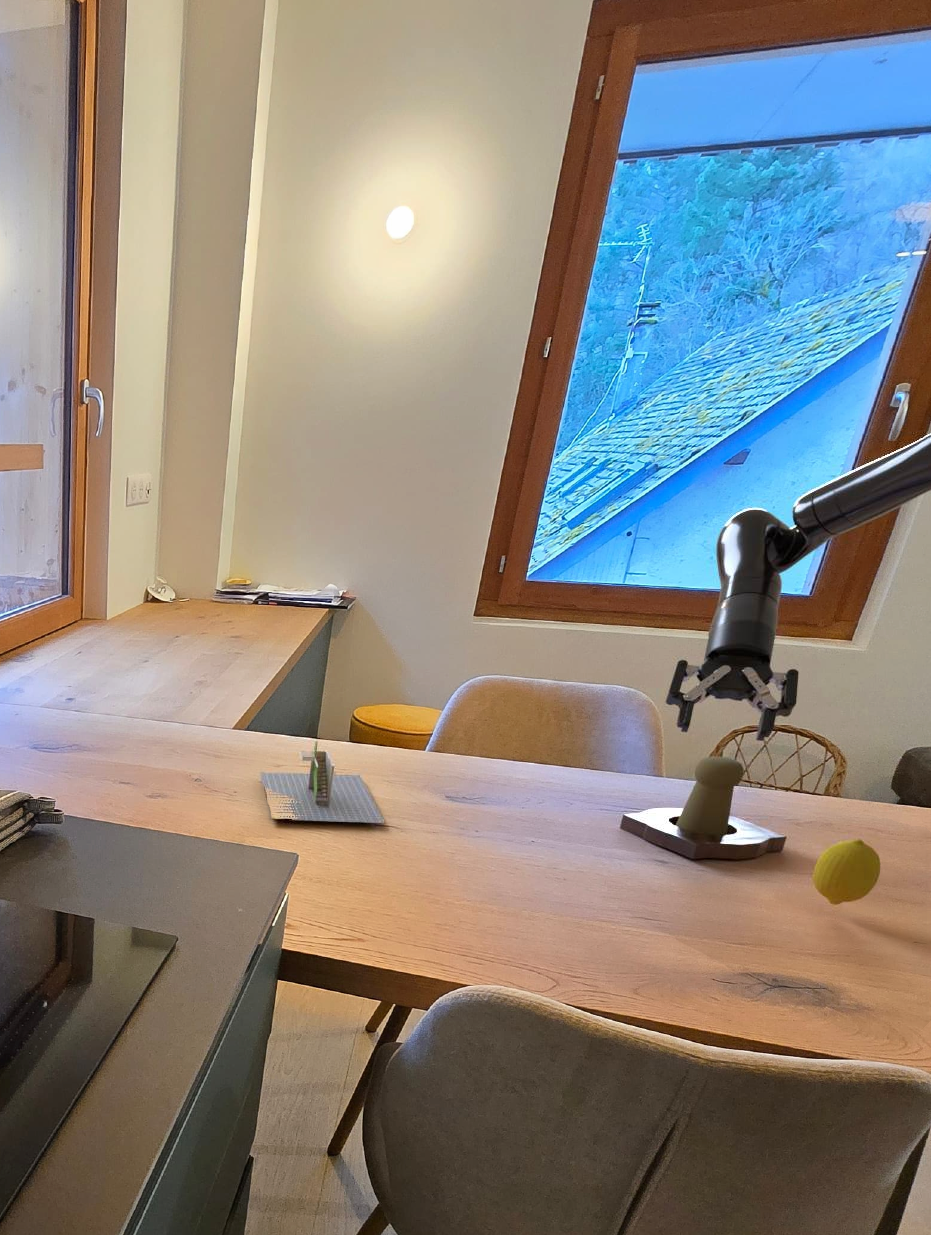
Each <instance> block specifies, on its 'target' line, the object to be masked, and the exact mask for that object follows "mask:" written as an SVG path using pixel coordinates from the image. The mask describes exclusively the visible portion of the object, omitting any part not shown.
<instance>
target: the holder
mask: <svg viewBox="0 0 931 1235" xmlns="http://www.w3.org/2000/svg"><path fill="white" fill-rule="evenodd" d="M683 809H684V808H680V807H679V808H678V807H677V808H676V807H660V808H649V809H646V810H644V811H642V812H637V813H628V814H627V813H625V814H622V818H621V821H620V825H619V829H622V830H624V831H626V832H629V833H630V834H633V835H636V836H638V837H640V838H642V839H644V840H645V841H647V842H650V843H652V844H654V845H658V846H659V847H661V848H665V849H668V850H671V851H673V852H675V853H678V854H680V855H682V856H685V857H687V858H689V859H692V860H698V859H709V858H711V859H712V858H713V859H725V860H727V859H728V860H744V859H753V858H754V859H755V858H757V857H759V856H761V855H763V854H765V853H775V852H782V851H783V850H784V847H785V844H786V841H787V838H788V837H787V836H786V835H783V834H780V833H779V832H778V833H777V832H775V831H772V830H769V829H766V828H764V827H762V826H759V825H757V824H754V823H752V822H749V821H746V820H743V819H741V818H738V817H734V816H731V815H730V816H729V822H728V829H727V835H710V834H703V833H697V832H693V831H689V830H685V829H682V828H679V827H677V826H676V823H677V821H678V819H679V817H680V815H681V813H682V811H683Z"/></svg>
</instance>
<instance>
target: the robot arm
mask: <svg viewBox="0 0 931 1235" xmlns="http://www.w3.org/2000/svg"><path fill="white" fill-rule="evenodd" d="M930 491H931V433H930V434H927V435H925V436H924V437H923V438H920V439H919V440H917V441H915V442H913V443H911V444H908V445H907V446H904V447H903V448H900V449H898V450H896V451H894V452H891V453H890V454H887V455H885V456H881V458H880V457H879V458H878V459H875V460H874V461H871V462H869V463H866V464H864V465H862V466H860V467H857V468H856V469H854V470H851V471H849V472H847V473H845V474H843V475H840V476H839V477H837V478H835V479H832V480H831V481H829V482H826V483H825V484H822V485H820V486H819V487H816V488H814V489H812V490H810V491H808V492H807V493H805V494H803V495H802V496H801V497H799V498H798V499H797V500H796V501H795V503H794V505H793V507H792V514H791V515H792V520H793V524H794V526H792V527H790V526H788V525H787V524H786V523H784V521H782V520H780V519H779V518H778V517H776V516H775V515H774V514H773V513H771V512H770V511H768V510H766V509H763V508H759V507H752V508H746V509H744V510H742V511H741V510H740V512H738V513H736V514H735V515H733V516H732V517H731V518H730V519H729V520H728V521H726V523H725V525H724V526H723V527H722V529H721V530H720V532H719V534H718V537H717V542H716V547H715V550H716V551H715V554H716V555H715V556H716V563H717V564H716V565H717V573H718V578H719V582H720V590H719V596H718V601H717V605H716V609H715V612H714V615H713V617H712V620H711V624H710V627H709V628H710V629H709V630H708V634H707V635H708V639H707V644H706V648H705V653H704V658H703V662H702V663H701V664H700V665H693V664H689V663H688V661H687V660H686V659H680V660H679V661H677V663H676V667H675V670H674V672H673V676H672V679H671V682H670V686H669V689H668V692H667V695H666V699H665V703H666V704H667V706H668V705H669V706H673V705H675V706H677V707H678V709H679V710H678V715H677V720H676V726H677V728H681V729H680V732H682V733H688V731H689V729H690V725H691V722H692V717H693V711H694V707H695V706H696V705H697V704H700V703H702V702H703V701H705V700H707V699H708V698H710V697H711V696H712V697H714V699H717V700H727V699H729V700H733V701H738V702H742V701H743V700H746V702H748V704H749V705H750V707H752V708H753V709H756V710H757V711H758V713H759V714H760V718H759V722H758V728H757V733H756V739H755V740H756V741H758V742H759V741H761V742H764V740H765V738H769V737H770V736H771V735H772V733H773V731H774V729H775V723H776V718H777V717H779V716H781V717H783V718H787V717H789V716H790V715H791V714H792V713H793V709H794V708H795V707H796V705H797V699H798V687H799V686H798V685H799V671H798V670H797V669H795V668H791V669H789V670H787V672H776V671H775V672H773V670H772V668H771V661H772V656H773V651H774V645H775V640H776V634H777V630H778V629H777V628H778V622H779V616H778V615H779V614H778V613H779V612H778V611H779V605H780V600H781V593H782V586H783V585H782V584H783V581H782V577H781V575H780V574H782V573H784V572H786V571H788V570H789V569H791V568H792V567H794V566H795V565H796V564H797V563H799V562H800V561H801V560H803V559H805V557H807V556H808V555H810V554H811V553H813V552H814V551H815V550H817V549H819V547H821V546H822V545H824V544H825V543H827V542H828V541H829V540H831V539H833V538H834V537H837V536H840V535H842V534H844V533H848V531H851V530H853V529H856V528H858V527H861V526H863V525H866V524H867V523H869V522H872V521H873V520H877V519H878V518H880V517H883V516H885V515H886V514H888V513H890V512H892V511H894V510H896V509H898V508H900V507H902V506H903V505H906V504H908V503H910V502H911V501H913V500H915V499H917V498H918V497H921V496H922V495H924V494H927V493H928V492H930ZM693 676H694V677H695V676H696V678H697V680H698V681H699V682H698V683H697V684H696V686H695V687H693V688H691V689H690V690H689V691H687V692H686V693H684V692H682V691H681V688H682V685H683V683H685V682H687V681H689V680H690V679H691V678H692V677H693ZM770 683H773V684H775V687H776V689H777V691H781V692H780V701H779V702H778V701H777V700H776V698H774V696H773V695H772V694H771V690H770V688H769V687H768V685H769V684H770Z"/></svg>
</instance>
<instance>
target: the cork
mask: <svg viewBox="0 0 931 1235" xmlns="http://www.w3.org/2000/svg"><path fill="white" fill-rule="evenodd" d="M744 772H745V771H744V765H743V764H742V763H741V762H739V761H738V760H736V759H733V758H731V757H730V758H729V757H724V756H713V755H712V756H706V757H703V758H701V759H700V760H699V761H698V762H697V764H696V765H695V768H694V778H695V779H696V781H695V783H694V786H693V788H692V790H691V792H690V794H689V796H688V798H687V800H686V803H685V805H684V807H683V808H682V809H683V811H682V813H681V815H680V817H679V819H678V821H677V823H676V826H677V827H679V828H682V829H685V830H689V831H693V832H697V833H703V834H710V835H727V829H728V822H729V816H731V810H732V809H731V808H732V802H733V801H732V800H733V796H734V789H735V786H737V785H738V784H740V782H741V781H742V780H743V778H744Z"/></svg>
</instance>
